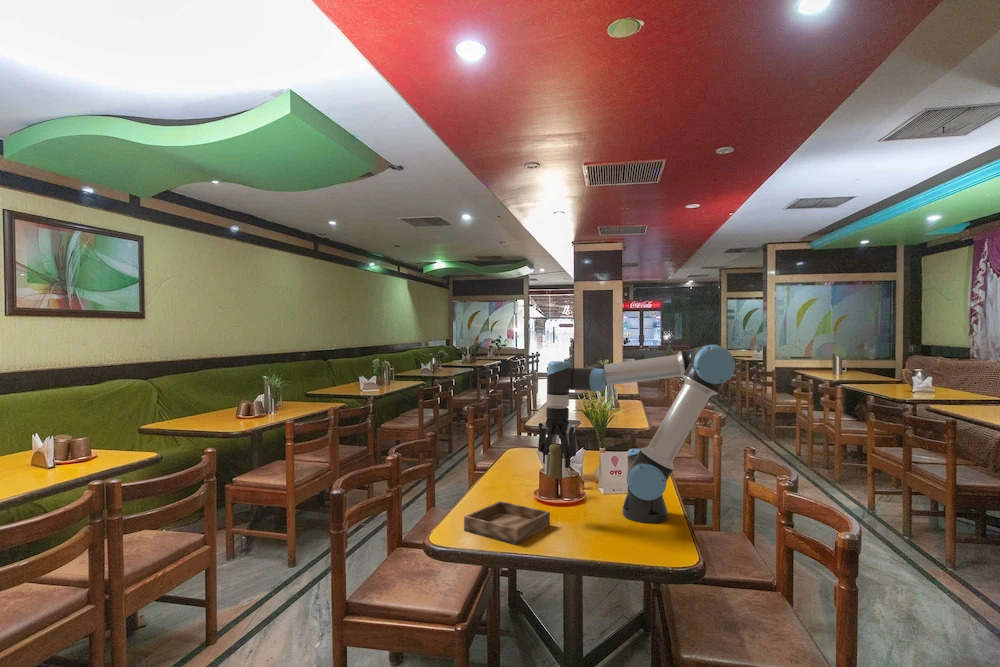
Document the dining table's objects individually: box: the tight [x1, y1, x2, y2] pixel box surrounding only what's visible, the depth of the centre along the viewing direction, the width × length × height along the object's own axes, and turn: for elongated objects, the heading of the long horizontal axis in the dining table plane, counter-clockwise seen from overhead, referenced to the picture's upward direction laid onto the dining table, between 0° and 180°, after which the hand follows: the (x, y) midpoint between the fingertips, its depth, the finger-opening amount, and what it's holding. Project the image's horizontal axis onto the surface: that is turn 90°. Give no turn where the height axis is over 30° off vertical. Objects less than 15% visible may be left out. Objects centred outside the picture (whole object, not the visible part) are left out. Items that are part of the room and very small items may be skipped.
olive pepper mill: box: [547, 442, 564, 480], centre depth 173 cm, size 6×6×11 cm
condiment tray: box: [463, 500, 551, 546], centre depth 166 cm, size 20×20×4 cm
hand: (556, 475), depth 173 cm, fingers closed on olive pepper mill, 6 cm apart
